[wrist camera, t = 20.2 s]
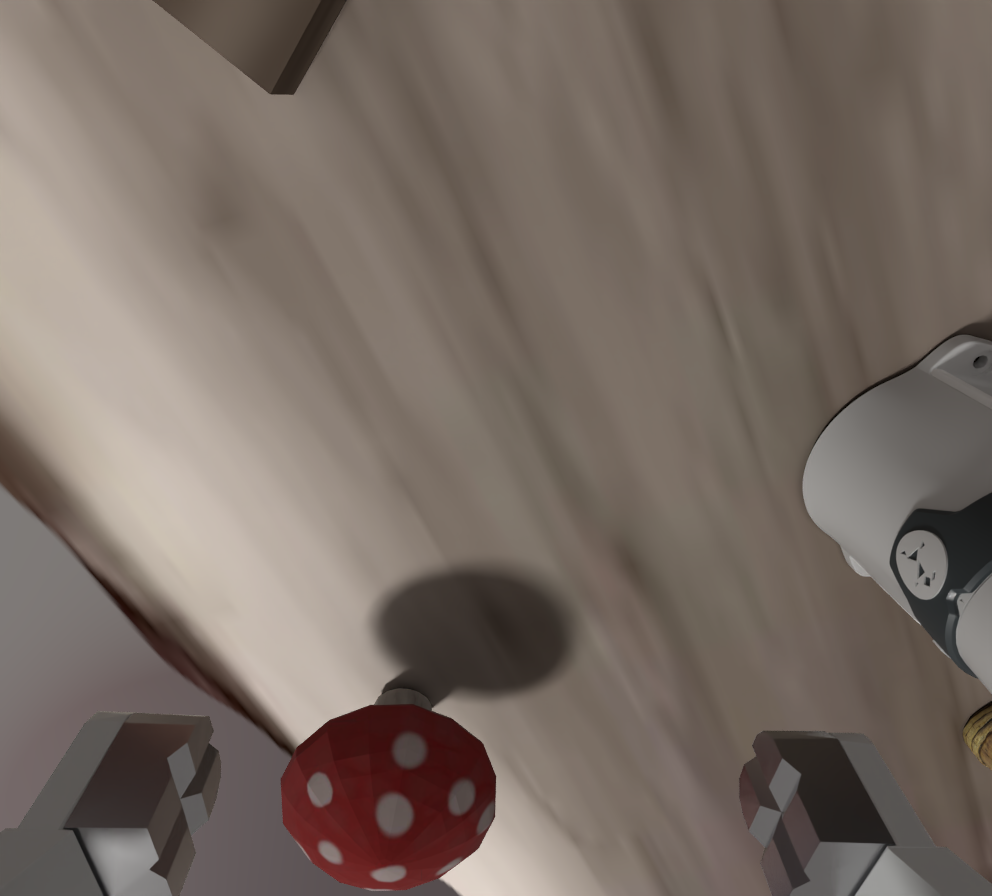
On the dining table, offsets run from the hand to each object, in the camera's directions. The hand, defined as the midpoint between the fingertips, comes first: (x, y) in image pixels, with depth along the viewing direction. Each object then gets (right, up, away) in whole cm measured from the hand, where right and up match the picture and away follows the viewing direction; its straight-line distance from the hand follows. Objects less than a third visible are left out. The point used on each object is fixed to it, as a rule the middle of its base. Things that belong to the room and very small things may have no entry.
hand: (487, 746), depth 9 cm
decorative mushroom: (-8, -17, +45) cm, 49 cm away
